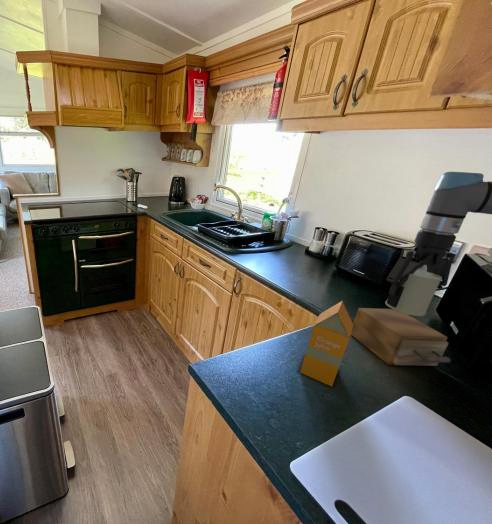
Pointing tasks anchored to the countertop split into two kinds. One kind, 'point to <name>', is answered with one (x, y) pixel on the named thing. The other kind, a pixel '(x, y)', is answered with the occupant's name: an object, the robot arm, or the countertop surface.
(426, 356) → the drawer
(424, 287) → the can
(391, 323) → the cabinet
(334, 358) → the orange juice
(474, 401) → the countertop surface
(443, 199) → the robot arm
